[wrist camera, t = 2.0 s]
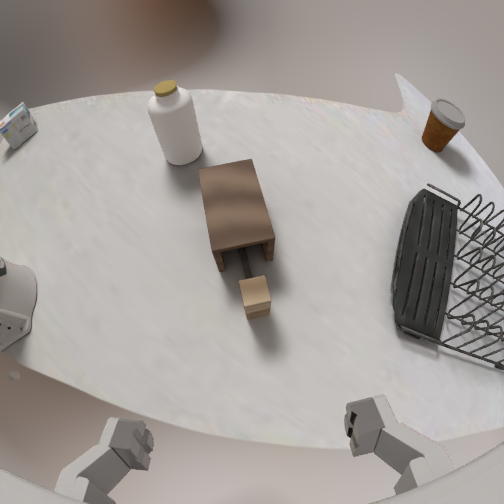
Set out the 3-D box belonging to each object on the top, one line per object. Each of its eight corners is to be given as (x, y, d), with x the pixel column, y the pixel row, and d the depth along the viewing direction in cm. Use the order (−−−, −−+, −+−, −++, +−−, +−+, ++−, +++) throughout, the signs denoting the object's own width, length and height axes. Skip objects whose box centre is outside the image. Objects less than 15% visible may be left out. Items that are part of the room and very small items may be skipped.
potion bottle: (188, 134, 62) (171, 69, 46) (211, 151, 60) (198, 82, 43) (158, 155, 60) (134, 91, 43) (180, 174, 57) (157, 106, 41)
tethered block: (273, 313, 46) (276, 299, 38) (242, 320, 45) (238, 307, 37) (245, 201, 54) (242, 170, 46) (218, 206, 54) (211, 176, 46)
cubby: (272, 260, 49) (275, 237, 42) (219, 271, 49) (211, 250, 41) (252, 188, 55) (251, 158, 48) (205, 197, 55) (198, 169, 47)
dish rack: (525, 388, 36) (562, 382, 25) (368, 335, 44) (400, 321, 33) (534, 255, 48) (563, 235, 37) (404, 182, 56) (426, 145, 45)
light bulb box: (37, 122, 71) (23, 100, 61) (38, 131, 69) (23, 108, 59) (13, 141, 68) (-2, 121, 59) (14, 151, 66) (-3, 130, 56)
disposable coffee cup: (428, 126, 64) (444, 94, 53) (452, 151, 60) (472, 120, 49) (409, 135, 62) (426, 100, 51) (435, 161, 59) (456, 128, 48)
